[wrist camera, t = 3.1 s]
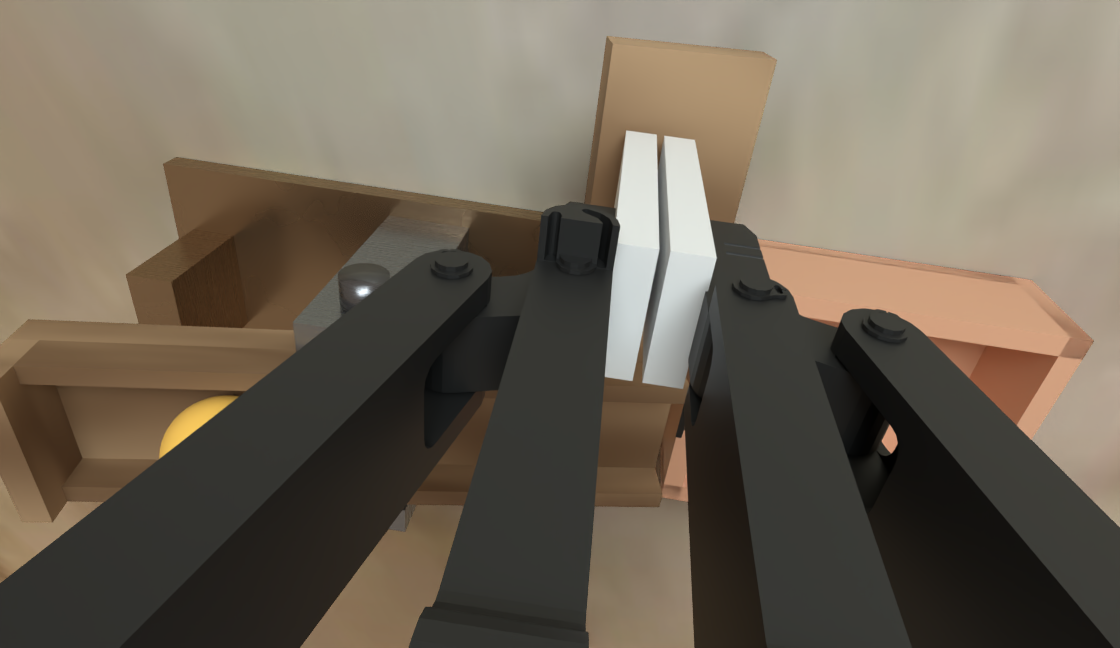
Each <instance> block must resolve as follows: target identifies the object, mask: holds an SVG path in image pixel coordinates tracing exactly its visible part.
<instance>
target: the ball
mask: <svg viewBox="0 0 1120 648" xmlns="http://www.w3.org/2000/svg"><path fill="white" fill-rule="evenodd" d="M238 397H239V396H234V395H222V396H215V397H210V398H207V399H204V400H201V401H199V402H197V403H194V404H193V405H191V406H189V407H188V408H186V409H185V410H184V411H182V412H181V413H180V414H179V415H178V416H177V417H176V418H175V419H174V420H173V422H172V423H171V424H170V426H169V427H168V429H167V431H166V432H165V434H164V437H163V439H162V442H161V446H160V453H159V459H160V458H161V457H162V456H164V455H165V454H166V453H168V452H169V451H170V450H171V449H173V448H174V447H175V446H177V445H178V444H179V443H180V442H182V441H183V440H184V439H185V438H187V437H188V436H189V435H191V434H192V433H193V432H194V431H196V430H197V429H198V428H200V427H201V426H202V425H203V424H205V423H206V422H207V421H208V420H210V419H211V418H212V417H214V416H215V415H216V414H217V413H219V412H220V411H221V410H223V409H224V408H225V407H226V406H228V405H229V404H230V403H231V402H233V401H234V400H235V399H237V398H238Z"/></svg>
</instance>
